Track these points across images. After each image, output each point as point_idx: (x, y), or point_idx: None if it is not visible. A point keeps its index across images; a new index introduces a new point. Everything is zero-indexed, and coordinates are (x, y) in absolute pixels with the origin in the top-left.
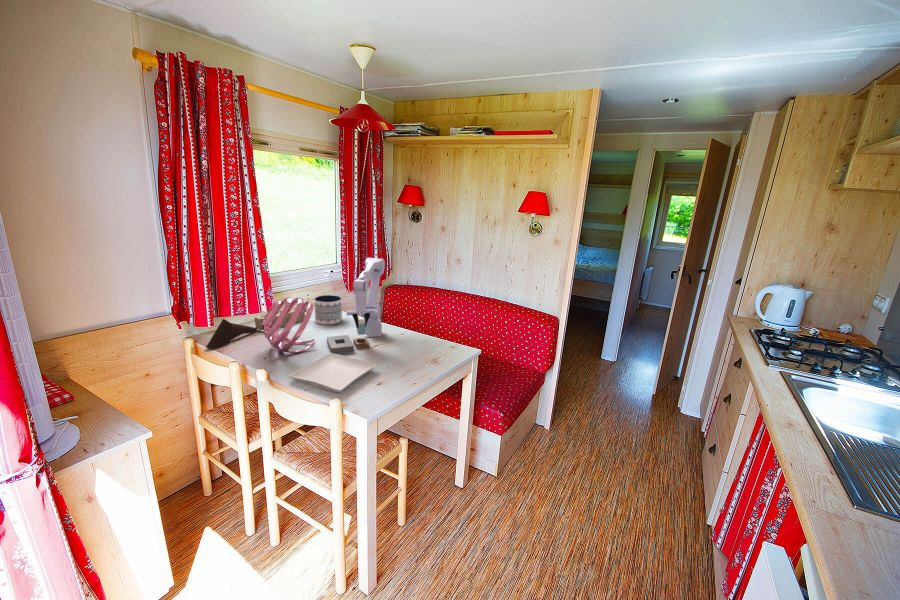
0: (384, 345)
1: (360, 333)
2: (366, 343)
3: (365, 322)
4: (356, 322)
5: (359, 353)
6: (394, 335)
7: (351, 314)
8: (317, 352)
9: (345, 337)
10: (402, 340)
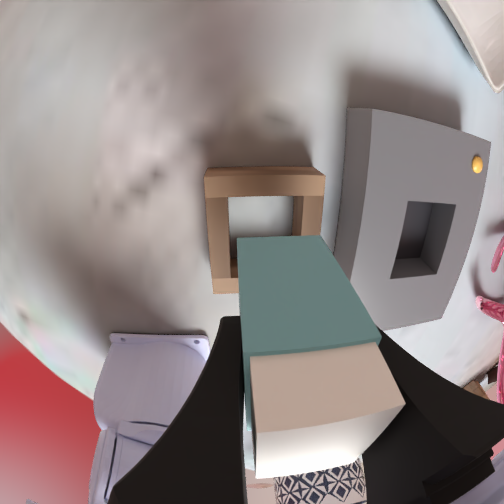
0: (91, 180)
1: (302, 241)
2: (230, 175)
3: (235, 377)
4: (412, 364)
5: (312, 70)
6: (50, 317)
7: (491, 467)
8: (489, 197)
9: (368, 301)
10: (7, 241)
